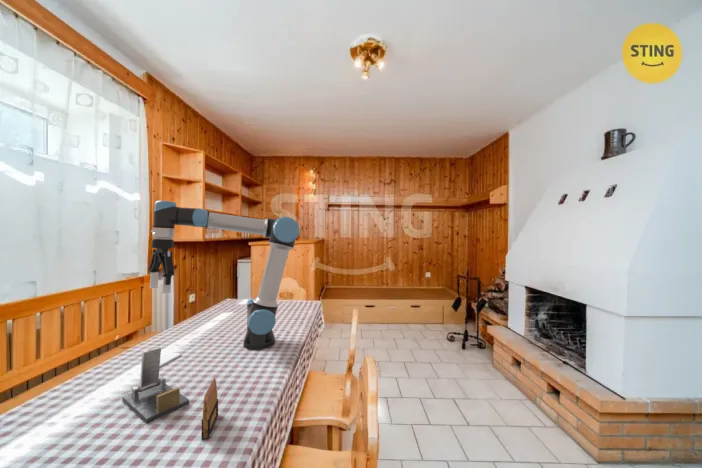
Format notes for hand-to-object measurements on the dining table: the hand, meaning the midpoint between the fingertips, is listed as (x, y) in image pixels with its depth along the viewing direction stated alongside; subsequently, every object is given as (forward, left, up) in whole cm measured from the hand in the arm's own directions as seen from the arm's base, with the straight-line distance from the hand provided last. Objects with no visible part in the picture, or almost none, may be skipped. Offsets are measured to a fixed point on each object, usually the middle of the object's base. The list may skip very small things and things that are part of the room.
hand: (159, 290), depth 119 cm
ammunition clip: (-32, +41, -33) cm, 61 cm away
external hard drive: (+2, -8, -33) cm, 34 cm away
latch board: (-10, +26, -32) cm, 43 cm away
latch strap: (-6, +22, -28) cm, 37 cm away
